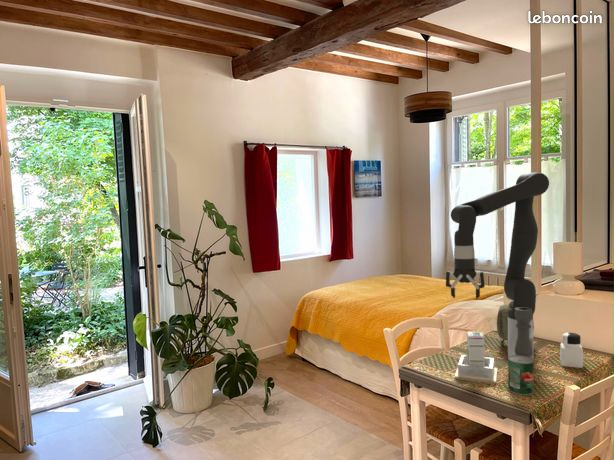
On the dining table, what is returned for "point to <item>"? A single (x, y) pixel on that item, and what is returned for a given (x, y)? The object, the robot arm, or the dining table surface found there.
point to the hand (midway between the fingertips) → (465, 297)
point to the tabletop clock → (504, 321)
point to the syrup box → (475, 349)
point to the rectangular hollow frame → (476, 371)
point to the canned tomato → (520, 375)
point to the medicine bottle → (571, 351)
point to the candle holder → (523, 331)
